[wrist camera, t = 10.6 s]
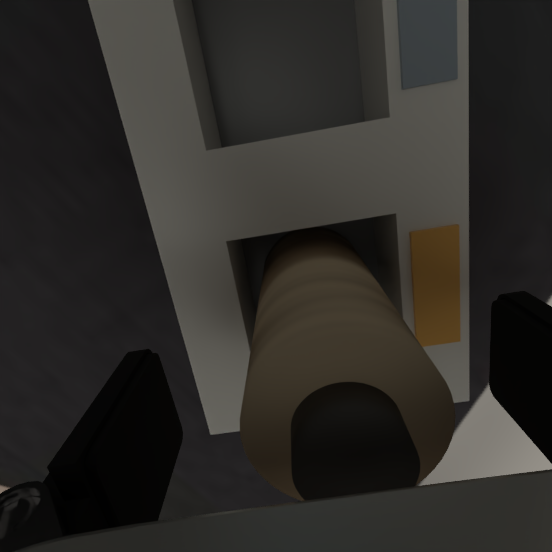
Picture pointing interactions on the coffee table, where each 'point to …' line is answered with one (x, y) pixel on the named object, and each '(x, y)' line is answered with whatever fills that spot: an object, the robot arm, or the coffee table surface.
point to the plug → (337, 378)
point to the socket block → (297, 158)
